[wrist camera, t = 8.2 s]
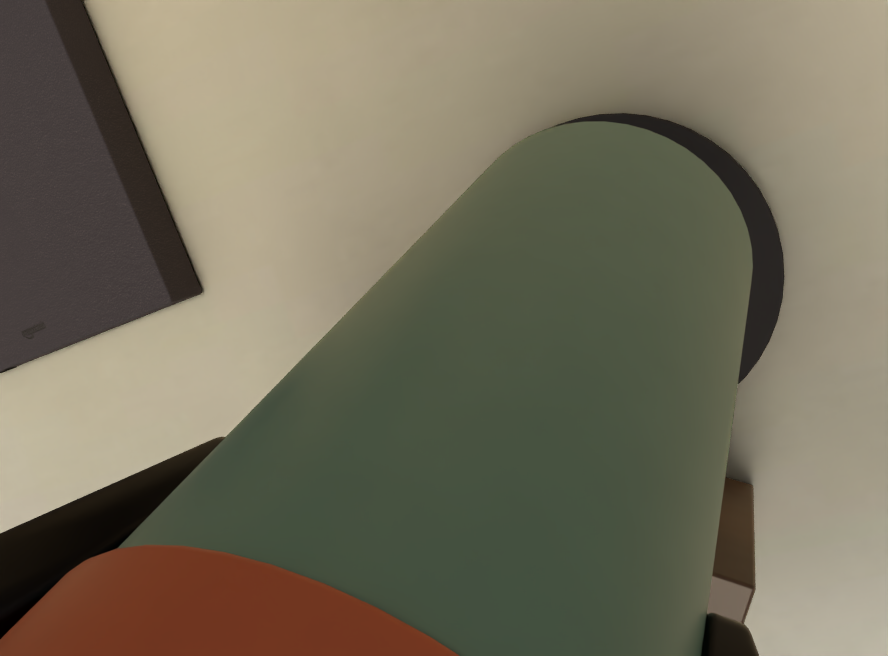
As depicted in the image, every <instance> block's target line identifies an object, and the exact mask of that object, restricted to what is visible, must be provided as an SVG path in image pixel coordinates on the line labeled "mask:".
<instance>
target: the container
mask: <svg viewBox="0 0 888 656" xmlns="http://www.w3.org/2000/svg"><path fill="white" fill-rule="evenodd" d="M752 270H753V261H752V247H751V242H750V237H749V233H748V228H747V226H746V223H745V221H744V218H743V215H742V213H741V210H740V208H739V207H738V205H737V203H736V201H735V199H734V198H733V196H732V194H731V192H730V191H729V190H728V188H727V187H726V186H725V185H724V183H723V182H722V181H721V179H720V178H719V177H718V176H717V175H716V174H715V173H714V172H713V171H712V170H711V169H710V168H709V167H708V166H707V165H706V164H705V163H704V162H703V161H702V160H701V159H699V158H698V157H697V156H695V155H694V154H693V153H691V152H690V151H689V150H687V149H686V148H684V147H683V146H681V145H679V144H677V143H676V142H674V141H672V140H670V139H669V138H667V137H664V136H662V135H659V134H657V133H654V132H652V131H649V130H647V129H643V128H639V127H635V126H631V125H628V124H621V123H613V122H605V121H595V122H577V123H570V124H563V125H560V126H556V127H552V128H549V129H545V130H543V131H541V132H538V133H536V134H534V135H531V136H529V137H527V138H525V139H524V140H522V141H520V142H519V143H517V144H515V145H514V146H512V147H511V148H510V149H508V150H507V151H506V152H505V153H503V154H502V155H501V156H500V157H499V158H497V160H496V161H495V162H494V163H493V164H492V165H491V166H490V167H489V168H488V169H487V170H486V171H485V172H484V173H483V174H482V175H481V176H480V177H479V178H478V179H477V180H476V181H475V182H474V183H473V184H472V185H471V186H470V187H469V188H468V189H467V190H466V191H465V192H464V193H463V194H462V195H461V196H460V197H459V198H458V200H457V201H456V202H455V203H454V204H453V205H452V206H451V207H450V208H449V209H448V210H447V211H446V212H445V213H444V214H443V215H442V216H441V217H440V218H439V219H438V220H437V221H436V222H435V223H434V224H433V225H432V226H431V227H430V228H429V229H428V230H427V231H426V232H425V233H424V234H423V235H422V236H421V237H420V238H419V240H418V241H417V242H416V243H415V244H414V245H413V246H412V247H411V248H410V249H409V250H408V251H407V252H406V253H405V254H404V255H403V256H402V257H401V258H400V259H399V260H398V261H397V262H396V263H395V264H394V265H393V266H392V267H391V268H390V269H389V270H388V271H387V272H386V273H385V274H384V275H383V276H382V277H381V278H380V280H379V281H378V282H377V283H376V284H375V285H374V286H373V287H372V288H371V289H370V290H369V291H368V292H367V293H366V294H365V295H364V296H363V297H362V298H361V299H360V300H359V301H358V302H357V303H356V304H355V305H354V306H353V307H352V308H351V309H350V310H349V311H348V312H347V313H346V314H345V315H344V316H343V317H342V318H341V320H340V321H339V322H338V323H337V324H336V325H335V326H334V327H333V328H332V329H331V330H330V331H329V332H328V333H327V334H326V335H325V336H324V337H323V338H322V339H321V340H320V341H319V342H318V343H317V344H316V345H315V346H314V347H313V348H312V349H311V350H310V351H309V352H308V353H307V354H306V355H305V356H304V357H303V358H302V360H301V361H300V362H299V363H298V364H297V365H296V366H295V367H294V368H293V369H292V370H291V371H290V372H289V373H288V374H287V375H286V376H285V377H284V378H283V379H282V380H281V381H280V382H279V383H278V384H277V385H276V386H275V387H274V388H273V389H272V390H271V391H270V392H269V393H268V394H267V395H266V396H265V397H264V398H263V400H262V401H261V402H260V403H259V404H258V405H257V406H256V407H255V408H254V409H253V410H252V411H251V412H250V413H249V414H248V415H247V416H246V417H245V418H244V419H243V420H242V421H241V422H240V423H239V424H238V425H237V426H236V427H235V428H234V429H233V430H232V431H231V432H230V433H229V434H228V435H227V436H226V437H225V438H224V440H223V441H222V442H221V443H220V444H219V445H218V446H217V447H216V448H215V449H214V450H213V451H212V452H211V453H210V454H209V455H208V456H207V457H206V458H205V459H204V460H203V461H202V462H201V463H200V464H199V465H198V466H197V467H196V468H195V469H194V470H193V471H192V472H191V473H190V474H189V475H188V476H187V477H186V478H185V480H184V481H183V482H182V483H181V484H180V485H179V486H178V487H177V488H176V489H175V490H174V491H173V492H172V493H171V494H170V495H169V496H168V497H167V498H166V499H165V500H164V501H163V502H162V503H161V504H160V505H159V506H158V507H157V508H156V509H155V510H154V511H153V512H152V513H151V514H150V515H149V516H148V517H147V518H146V520H145V521H144V522H143V523H142V524H141V525H140V526H139V527H138V528H137V529H136V530H135V531H134V532H133V533H132V534H131V535H130V536H129V537H128V538H127V539H126V540H125V541H124V542H123V543H122V544H121V545H120V546H119V547H118V548H117V549H114V550H112V551H109V552H106V553H103V554H100V555H97V556H95V557H92V558H90V559H87V560H85V561H84V562H82V563H81V564H79V565H78V566H76V567H75V568H74V569H72V570H71V571H69V572H68V573H67V574H66V575H65V576H64V577H63V578H62V579H61V580H60V581H59V582H58V583H57V584H56V585H55V586H54V587H53V588H52V589H51V590H50V591H49V592H48V593H47V594H46V595H45V596H44V597H42V598H41V599H40V600H39V601H38V602H37V603H36V604H35V605H34V606H33V607H32V608H31V609H30V610H29V611H28V612H27V613H26V614H25V615H24V616H23V617H22V618H21V619H20V620H19V621H18V622H17V623H16V624H15V625H14V626H13V627H12V628H11V629H10V630H9V631H8V632H7V633H6V634H5V635H4V636H3V637H2V638H1V639H0V656H701V653H702V645H703V638H704V630H705V623H706V616H707V610H708V602H709V595H710V588H711V580H712V573H713V565H714V558H715V550H716V543H717V535H718V528H719V520H720V513H721V505H722V498H723V490H724V483H725V475H726V468H727V461H728V453H729V446H730V438H731V431H732V423H733V416H734V408H735V401H736V393H737V386H738V378H739V371H740V363H741V356H742V348H743V341H744V334H745V326H746V319H747V311H748V304H749V296H750V289H751V280H752Z"/></svg>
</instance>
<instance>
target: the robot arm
mask: <svg viewBox="0 0 888 656" xmlns="http://www.w3.org/2000/svg"><path fill="white" fill-rule="evenodd" d="M224 438H225V437H218V438H215V439H212V440H210V441H208V442H206V443H203V444H201V445H199V446H197V447H194V448H192V449H190V450H188V451H185V452H183V453H181V454H179V455H176V456H174V457H172V458H170V459H167V460H165V461H163V462H161V463H158V464H156V465H154V466H152V467H149V468H147V469H145V470H143V471H140V472H138V473H136V474H134V475H131V476H129V477H127V478H125V479H122V480H120V481H118V482H115V483H113V484H111V485H109V486H106V487H104V488H102V489H100V490H97V491H95V492H93V493H91V494H88V495H86V496H84V497H82V498H79V499H77V500H75V501H73V502H70V503H68V504H66V505H64V506H61V507H59V508H57V509H55V510H52V511H50V512H48V513H46V514H43V515H41V516H39V517H37V518H34V519H32V520H30V521H28V522H25V523H23V524H21V525H18V526H16V527H14V528H12V529H9V530H7V531H5V532H3V533H0V639H1V638H2V637H3V636H4V635H5V634H6V633H7V632H8V631H9V630H10V629H11V628H12V627H13V626H14V625H15V624H16V623H17V622H18V621H19V620H20V619H21V618H22V617H23V616H24V615H25V614H26V613H27V612H28V611H29V610H30V609H31V608H32V607H33V606H34V605H35V604H36V603H37V602H38V601H39V600H40V599H41V598H42V597H44V596H45V595H46V594H47V593H48V592H49V591H50V590H51V589H52V588H53V587H54V586H55V585H56V584H57V583H58V582H59V581H60V580H61V579H62V578H63V577H64V576H65V575H66V574H67V573H68V572H69V571H71V570H72V569H74V568H75V567H76V566H78V565H79V564H81V563H82V562H84V561H85V560H87V559H90V558H92V557H95V556H97V555H100V554H103V553H106V552H109V551H112V550H114V549H117V548H118V547H119V546H120V545H121V544H122V543H123V542H124V541H125V540H126V539H127V538H128V537H129V536H130V535H131V534H132V533H133V532H134V531H135V530H136V529H137V528H138V527H139V526H140V525H141V524H142V523H143V522H144V521H145V520H146V518H147V517H148V516H149V515H150V514H151V513H152V512H153V511H154V510H155V509H156V508H157V507H158V506H159V505H160V504H161V503H162V502H163V501H164V500H165V499H166V498H167V497H168V496H169V495H170V494H171V493H172V492H173V491H174V490H175V489H176V488H177V487H178V486H179V485H180V484H181V483H182V482H183V481H184V480H185V478H186V477H187V476H188V475H189V474H190V473H191V472H192V471H193V470H194V469H195V468H196V467H197V466H198V465H199V464H200V463H201V462H202V461H203V460H204V459H205V458H206V457H207V456H208V455H209V454H210V453H211V452H212V451H213V450H214V449H215V448H216V447H217V446H218V445H219V444H220V443H221V442H222V441H223V440H224ZM701 656H759V654H758V651H757V649H756V646H755V643H754V641H753V638H752V635H751V633H750V631H749V629H748V628H747V627H746V626H745V625H744V624H743V623H741V622H738V621H735V620H732V619H730V618H727V617H724V616H721V615H719V614H716V613H708V614H707V616H706V623H705V630H704V638H703V645H702V653H701Z"/></svg>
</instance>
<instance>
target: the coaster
mask: <svg viewBox="0 0 888 656" xmlns="http://www.w3.org/2000/svg"><path fill="white" fill-rule="evenodd" d="M595 121H605V122H613V123H621V124H628V125H631V126H635V127H639V128H643V129H647V130H649V131H652V132H654V133H657V134H659V135H662V136H664V137H667V138H669V139H670V140H672V141H674V142H676V143H677V144H679V145H681V146H683V147H684V148H686V149H687V150H689V151H690V152H691V153H693V154H694V155H695V156H697V157H698V158H699V159H701V160H702V161H703V162H704V163H705V164H706V165H707V166H708V167H709V168H710V169H711V170H712V171H713V172H714V173H715V174H716V175H717V176H718V177H719V178H720V179H721V181H722V182H723V183H724V185H725V186H726V187H727V188H728V190H729V191H730V192H731V194H732V196H733V198H734V199H735V201H736V203H737V205H738V207H739V208H740V210H741V213H742V215H743V218H744V221H745V223H746V226H747V228H748V233H749V237H750V242H751V247H752V261H753V270H752V280H751V289H750V296H749V304H748V311H747V319H746V326H745V334H744V341H743V348H742V356H741V363H740V371H739V378H738V384H739V383H740V382H741V381H742V380H743V379H744V378H745V377H746V376H747V374H748V373H749V372H750V371H751V369H752V368H753V367H754V365H755V364H756V363H757V361H758V360H759V358H760V357H761V355H762V353H763V351H764V350H765V348H766V346H767V344H768V342H769V341H770V338H771V336H772V333H773V330H774V328H775V325H776V323H777V320H778V316H779V311H780V307H781V303H782V298H783V286H784V263H783V252H782V247H781V243H780V238H779V233H778V229H777V227H776V224H775V221H774V219H773V216H772V213H771V210H770V208H769V206H768V204H767V202H766V201H765V199H764V197H763V195H762V193H761V191H760V190H759V188H758V187H757V185H756V184H755V183H754V181H753V180H752V179H751V177H750V176H749V175H748V173H747V172H746V171H745V170H744V169H743V168H742V167H741V166H740V165H739V164H738V163H737V162H736V161H735V160H734V159H733V158H732V157H731V156H730V155H729V154H728V153H727V152H726V151H724V150H723V149H722V148H720V147H719V146H718V145H716V144H715V143H714V142H712V141H711V140H709V139H708V138H706V137H704V136H702V135H700V134H698V133H697V132H695V131H693V130H691V129H689V128H686V127H684V126H681V125H679V124H676V123H673V122H671V121H668V120H663V119H659V118H655V117H651V116H646V115H635V114H625V113H622V114H599V115H594V116H588V117H582V118H577V119H574V120H571V121H568V122H565V123H561V124H558V125H556V126H560V125H563V124H570V123H577V122H595ZM556 126H554V127H556Z"/></svg>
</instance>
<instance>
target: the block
mask: <svg viewBox="0 0 888 656" xmlns="http://www.w3.org/2000/svg"><path fill="white" fill-rule="evenodd" d="M755 590H756V584H755V539H754V493H753V486H752V485H750V484H747V483H744V482H740V481H737V480H734V479H730V478H727V477H725V483H724V490H723V498H722V505H721V513H720V520H719V528H718V535H717V543H716V550H715V558H714V565H713V573H712V580H711V588H710V595H709V602H708V610H707V614H708V613H716V614H719V615H721V616H724V617H727V618H730V619H732V620H735V621H738V622H741V623H743V624H744V622H745V619H746V616H747V613H748V610H749V607H750V604H751V601H752V598H753V595H754V593H755Z"/></svg>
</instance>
